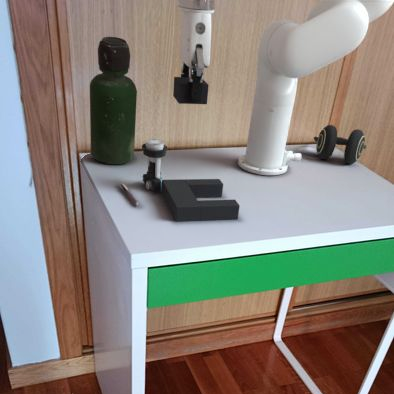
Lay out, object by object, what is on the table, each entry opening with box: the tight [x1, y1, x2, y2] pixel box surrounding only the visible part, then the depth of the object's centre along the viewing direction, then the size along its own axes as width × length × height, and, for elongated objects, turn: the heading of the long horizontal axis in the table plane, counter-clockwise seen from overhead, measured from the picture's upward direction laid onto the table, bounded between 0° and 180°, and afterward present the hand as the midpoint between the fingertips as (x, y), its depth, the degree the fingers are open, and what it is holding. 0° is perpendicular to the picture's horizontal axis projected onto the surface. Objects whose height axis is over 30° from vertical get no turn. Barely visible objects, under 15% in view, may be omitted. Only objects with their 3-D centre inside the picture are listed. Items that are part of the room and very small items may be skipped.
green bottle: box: [89, 36, 138, 165], centre depth 113 cm, size 10×10×25 cm
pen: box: [120, 182, 140, 207], centre depth 105 cm, size 11×1×1 cm, turn 25°
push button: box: [141, 138, 168, 194], centre depth 107 cm, size 7×5×10 cm
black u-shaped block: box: [160, 178, 241, 223], centre depth 104 cm, size 13×14×3 cm
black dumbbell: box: [313, 124, 367, 165], centre depth 138 cm, size 9×15×20 cm
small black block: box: [172, 76, 210, 105], centre depth 112 cm, size 6×6×4 cm
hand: (190, 96), depth 113 cm, fingers closed on small black block, 6 cm apart
